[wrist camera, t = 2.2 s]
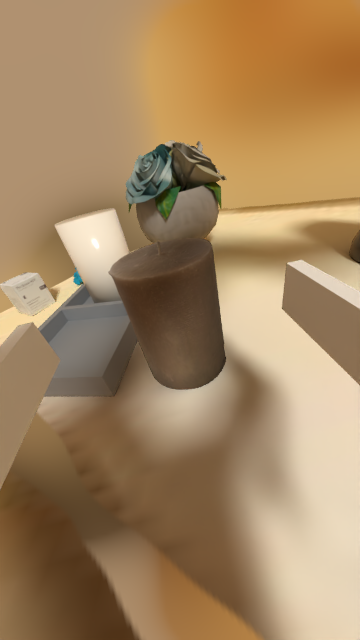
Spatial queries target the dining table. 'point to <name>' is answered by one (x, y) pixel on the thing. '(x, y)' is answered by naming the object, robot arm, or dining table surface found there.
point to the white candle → (95, 250)
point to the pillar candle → (174, 309)
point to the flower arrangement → (175, 192)
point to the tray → (88, 345)
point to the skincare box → (28, 293)
